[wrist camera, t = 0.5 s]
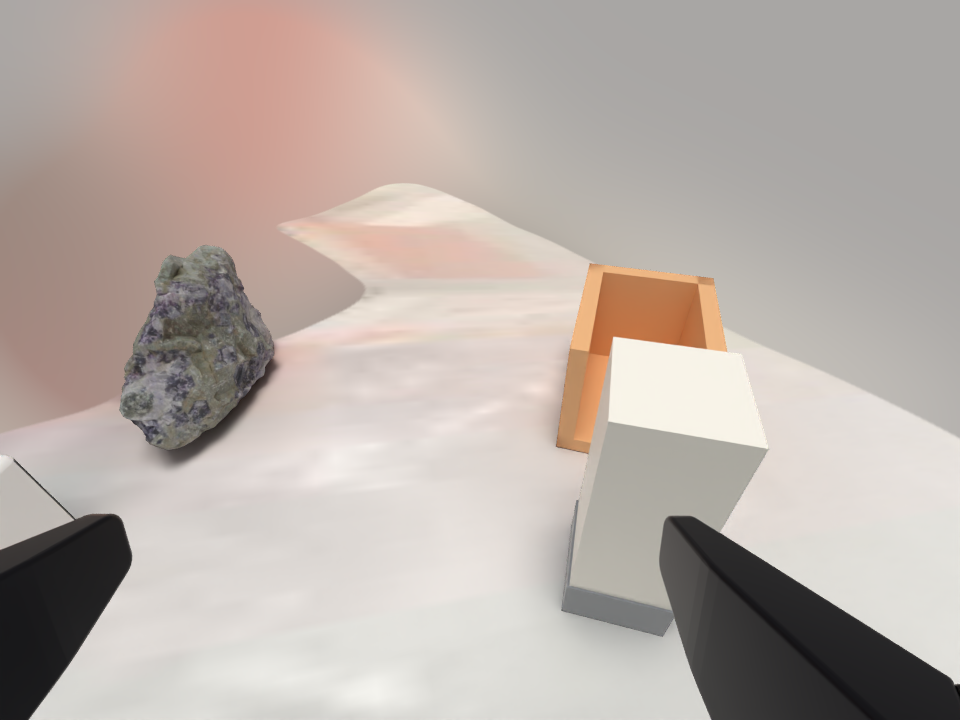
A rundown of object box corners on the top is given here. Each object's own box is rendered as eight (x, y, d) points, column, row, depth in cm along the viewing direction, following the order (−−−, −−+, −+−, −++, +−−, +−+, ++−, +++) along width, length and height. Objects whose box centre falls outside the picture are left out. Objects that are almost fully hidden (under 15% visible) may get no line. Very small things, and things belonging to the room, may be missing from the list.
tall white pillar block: (662, 636, 21) (773, 452, 13) (561, 610, 22) (604, 423, 14) (658, 544, 25) (744, 352, 16) (571, 525, 25) (610, 334, 17)
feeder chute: (576, 353, 37) (589, 263, 32) (681, 370, 35) (713, 278, 30) (556, 446, 30) (569, 348, 25) (687, 474, 28) (731, 374, 23)
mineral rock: (177, 477, 28) (87, 348, 22) (83, 416, 33) (-16, 293, 26) (326, 360, 37) (292, 243, 31) (236, 324, 41) (190, 214, 35)
